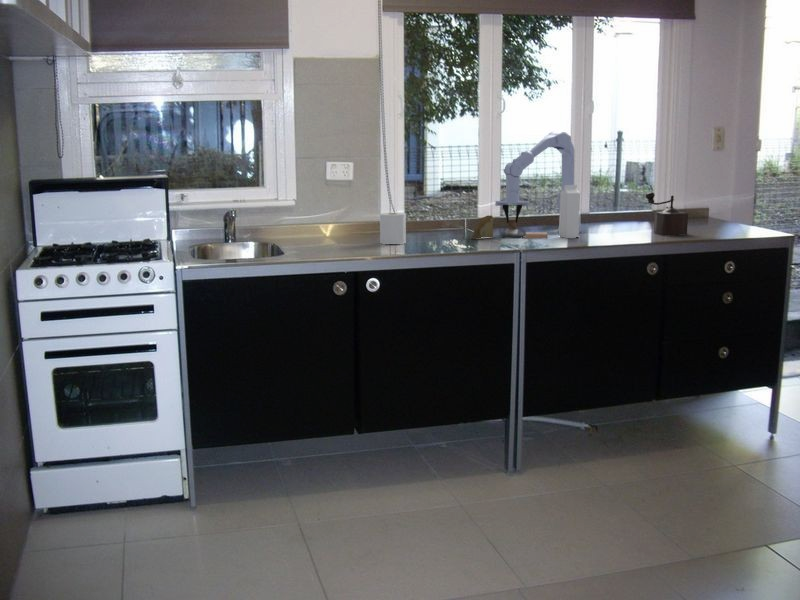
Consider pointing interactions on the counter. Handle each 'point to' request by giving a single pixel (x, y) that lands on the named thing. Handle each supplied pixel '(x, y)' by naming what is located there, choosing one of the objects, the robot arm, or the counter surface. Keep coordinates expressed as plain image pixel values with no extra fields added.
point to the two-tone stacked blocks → (512, 227)
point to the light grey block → (392, 228)
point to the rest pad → (519, 235)
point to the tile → (536, 234)
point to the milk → (569, 212)
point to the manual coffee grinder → (668, 218)
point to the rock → (484, 228)
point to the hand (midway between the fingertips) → (512, 222)
